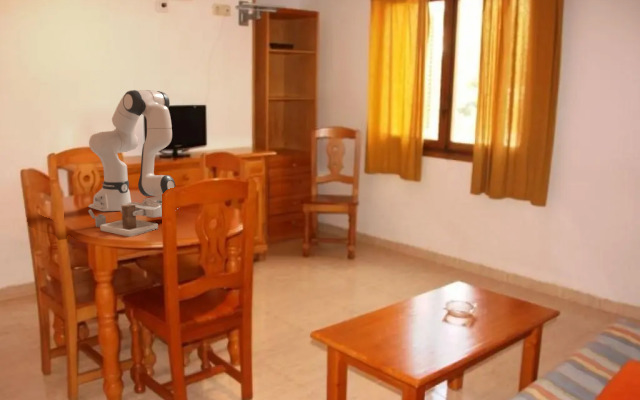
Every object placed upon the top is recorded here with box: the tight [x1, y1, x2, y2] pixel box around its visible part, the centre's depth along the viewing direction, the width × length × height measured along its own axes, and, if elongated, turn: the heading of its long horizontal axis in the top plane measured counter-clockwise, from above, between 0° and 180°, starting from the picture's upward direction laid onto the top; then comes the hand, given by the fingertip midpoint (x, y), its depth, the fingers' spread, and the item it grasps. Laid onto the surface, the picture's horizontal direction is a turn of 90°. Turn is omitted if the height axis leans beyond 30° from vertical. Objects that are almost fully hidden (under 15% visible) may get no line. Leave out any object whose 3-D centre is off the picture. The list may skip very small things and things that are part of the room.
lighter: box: [87, 208, 107, 228], centre depth 265 cm, size 7×2×8 cm, turn 122°
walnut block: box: [121, 204, 137, 229], centre depth 260 cm, size 4×4×10 cm
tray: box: [99, 219, 159, 238], centre depth 261 cm, size 18×16×2 cm
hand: (127, 212), depth 259 cm, fingers open, 5 cm apart
